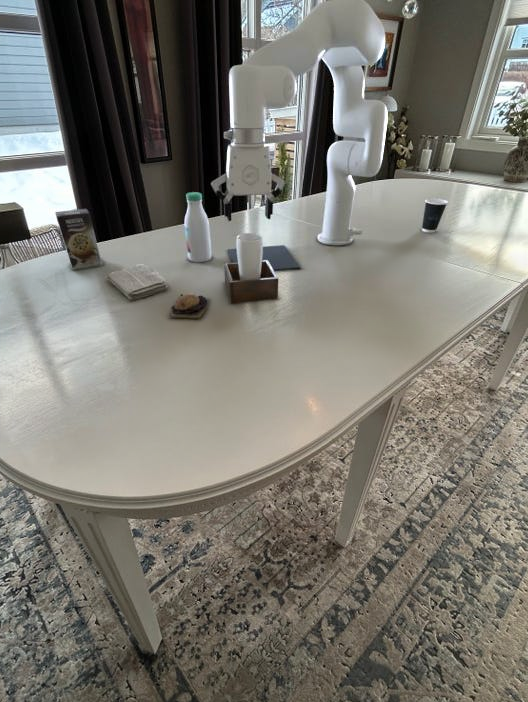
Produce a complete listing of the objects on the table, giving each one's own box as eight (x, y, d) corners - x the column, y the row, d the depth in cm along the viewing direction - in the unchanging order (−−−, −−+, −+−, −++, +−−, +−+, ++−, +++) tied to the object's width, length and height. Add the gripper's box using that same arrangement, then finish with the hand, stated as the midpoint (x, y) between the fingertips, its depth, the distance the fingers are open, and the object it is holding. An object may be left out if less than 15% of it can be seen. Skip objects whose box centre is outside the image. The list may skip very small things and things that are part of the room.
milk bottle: (215, 255, 123) (211, 191, 111) (205, 264, 117) (199, 197, 106) (194, 253, 125) (188, 189, 113) (184, 261, 120) (175, 195, 108)
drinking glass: (259, 297, 99) (260, 242, 90) (235, 295, 100) (233, 240, 91) (264, 286, 104) (265, 233, 95) (241, 284, 105) (239, 231, 96)
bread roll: (201, 320, 89) (200, 307, 87) (167, 318, 90) (165, 305, 88) (210, 299, 98) (209, 287, 96) (179, 298, 99) (177, 285, 96)
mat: (284, 246, 130) (284, 245, 130) (300, 268, 114) (300, 267, 114) (228, 250, 127) (227, 249, 126) (236, 274, 111) (236, 272, 111)
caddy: (267, 279, 108) (267, 260, 104) (277, 299, 98) (278, 278, 94) (224, 283, 106) (223, 263, 102) (231, 303, 96) (229, 282, 92)
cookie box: (72, 270, 114) (55, 216, 104) (70, 263, 118) (53, 211, 108) (103, 265, 117) (89, 212, 107) (100, 258, 121) (86, 207, 112)
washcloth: (131, 302, 97) (129, 292, 95) (105, 280, 108) (102, 270, 106) (171, 290, 103) (170, 279, 101) (143, 270, 114) (141, 260, 112)
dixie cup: (428, 235, 140) (436, 204, 133) (413, 229, 145) (420, 199, 139) (444, 232, 142) (453, 202, 135) (428, 226, 148) (436, 197, 141)
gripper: (209, 140, 76) (215, 224, 86) (290, 138, 78) (286, 221, 88) (206, 136, 82) (211, 216, 92) (282, 135, 84) (279, 213, 94)
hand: (248, 218), depth 90 cm, fingers open, 9 cm apart
